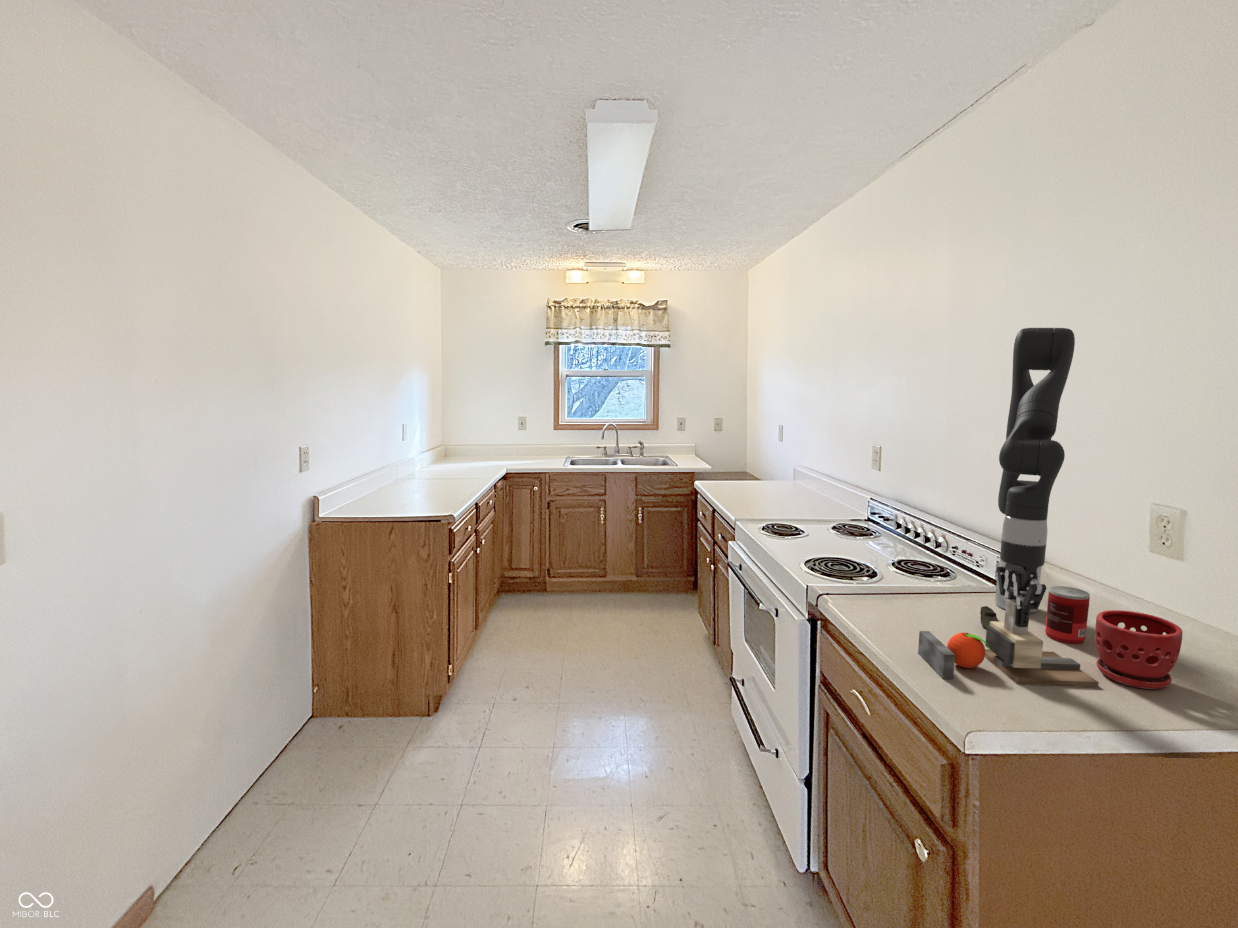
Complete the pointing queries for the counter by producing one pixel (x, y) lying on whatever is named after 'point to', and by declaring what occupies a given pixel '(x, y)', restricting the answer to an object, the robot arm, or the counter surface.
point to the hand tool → (987, 616)
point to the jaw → (1014, 641)
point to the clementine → (967, 649)
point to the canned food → (1067, 614)
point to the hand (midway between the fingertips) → (1016, 622)
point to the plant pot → (1137, 648)
